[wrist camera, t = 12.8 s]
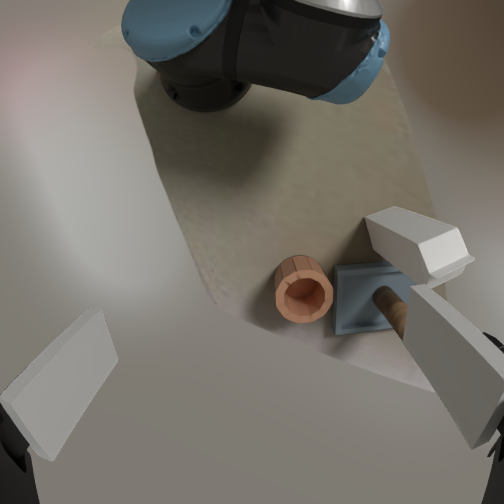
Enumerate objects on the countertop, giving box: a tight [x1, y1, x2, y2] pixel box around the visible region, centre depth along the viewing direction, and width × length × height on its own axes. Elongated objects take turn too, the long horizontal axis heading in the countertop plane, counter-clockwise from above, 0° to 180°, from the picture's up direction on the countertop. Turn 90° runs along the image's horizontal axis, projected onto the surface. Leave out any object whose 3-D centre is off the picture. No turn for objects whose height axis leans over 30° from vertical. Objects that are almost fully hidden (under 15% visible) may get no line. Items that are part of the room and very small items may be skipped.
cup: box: [274, 255, 333, 323], centre depth 46 cm, size 8×8×8 cm
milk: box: [364, 206, 475, 289], centre depth 36 cm, size 6×6×22 cm
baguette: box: [373, 286, 408, 341], centre depth 42 cm, size 4×4×14 cm
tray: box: [332, 261, 417, 335], centre depth 48 cm, size 12×18×3 cm, turn 95°
